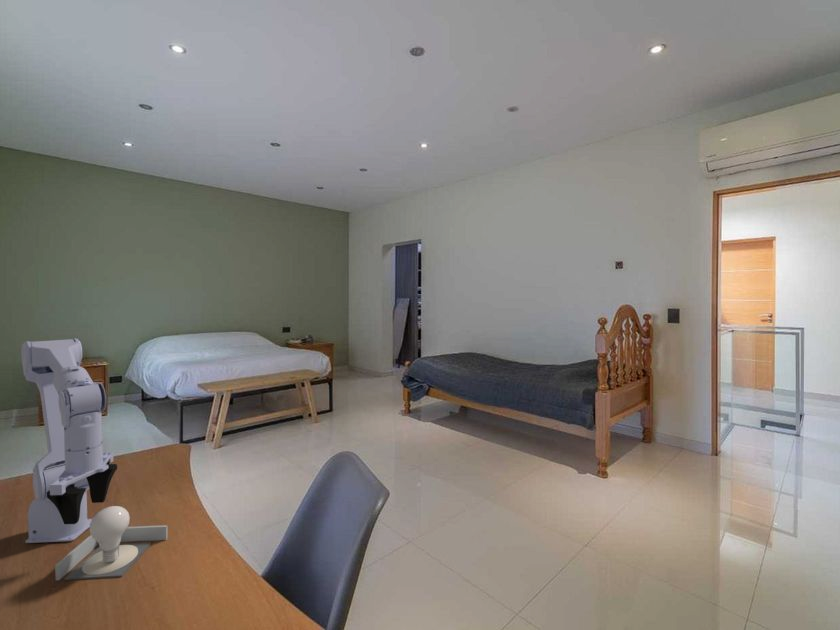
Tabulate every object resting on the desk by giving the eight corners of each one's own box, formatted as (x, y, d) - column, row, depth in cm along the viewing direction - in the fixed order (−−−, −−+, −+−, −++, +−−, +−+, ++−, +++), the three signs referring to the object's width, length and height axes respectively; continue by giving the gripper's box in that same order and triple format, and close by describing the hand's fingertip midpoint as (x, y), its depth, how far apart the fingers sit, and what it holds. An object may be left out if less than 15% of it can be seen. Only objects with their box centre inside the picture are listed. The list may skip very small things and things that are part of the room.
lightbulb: (111, 573, 76) (110, 518, 76) (81, 570, 77) (80, 515, 76) (138, 552, 83) (137, 501, 82) (110, 549, 83) (109, 498, 83)
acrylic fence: (50, 580, 75) (49, 565, 75) (94, 541, 86) (94, 528, 86) (135, 576, 76) (135, 561, 76) (167, 538, 88) (167, 525, 88)
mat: (64, 579, 75) (64, 577, 75) (101, 546, 85) (101, 544, 85) (121, 576, 76) (121, 574, 76) (151, 543, 86) (151, 542, 86)
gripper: (79, 460, 72) (80, 532, 73) (127, 432, 86) (129, 492, 87) (35, 461, 71) (38, 534, 72) (92, 432, 85) (94, 494, 86)
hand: (85, 512), depth 79 cm, fingers open, 7 cm apart
